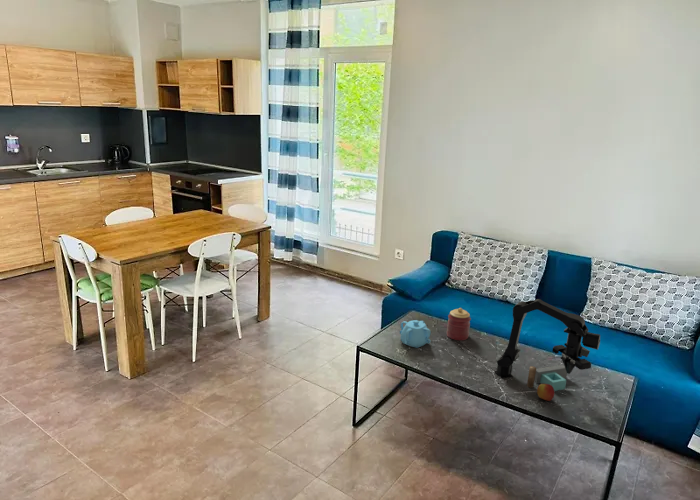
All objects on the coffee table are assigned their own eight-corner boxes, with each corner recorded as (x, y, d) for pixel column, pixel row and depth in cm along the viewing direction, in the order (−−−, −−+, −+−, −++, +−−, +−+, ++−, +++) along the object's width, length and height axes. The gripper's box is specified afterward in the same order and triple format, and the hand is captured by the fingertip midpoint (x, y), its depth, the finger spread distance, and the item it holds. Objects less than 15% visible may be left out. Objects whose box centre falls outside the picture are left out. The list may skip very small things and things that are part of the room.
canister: (472, 339, 286) (476, 311, 281) (452, 341, 282) (455, 313, 277) (461, 330, 297) (464, 302, 293) (442, 332, 294) (445, 304, 289)
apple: (555, 399, 229) (558, 384, 227) (549, 406, 223) (552, 390, 221) (539, 392, 234) (542, 377, 231) (532, 399, 228) (535, 384, 226)
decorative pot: (398, 336, 286) (399, 314, 282) (425, 336, 287) (427, 315, 283) (402, 349, 271) (403, 327, 267) (431, 350, 271) (433, 327, 268)
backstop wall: (536, 383, 242) (538, 372, 240) (532, 380, 245) (534, 369, 243) (566, 378, 248) (568, 367, 246) (562, 375, 250) (563, 364, 249)
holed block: (551, 391, 235) (552, 382, 234) (540, 383, 243) (541, 374, 241) (564, 389, 238) (566, 380, 236) (553, 380, 245) (554, 371, 244)
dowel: (529, 388, 237) (532, 369, 234) (525, 385, 240) (528, 366, 237) (534, 387, 238) (537, 368, 235) (530, 384, 241) (533, 365, 238)
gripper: (603, 349, 219) (597, 381, 224) (572, 332, 236) (568, 361, 240) (583, 353, 216) (578, 384, 220) (553, 334, 233) (549, 364, 237)
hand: (568, 373), depth 229 cm, fingers closed
